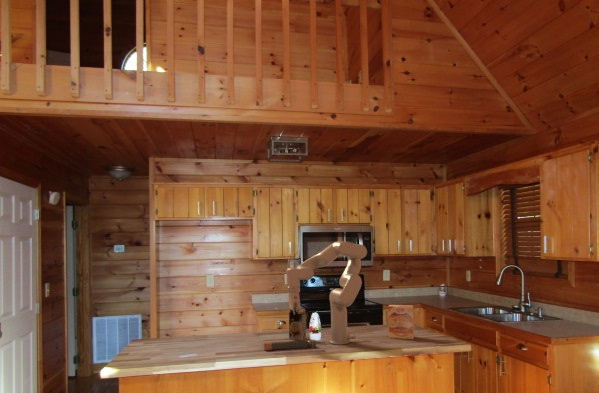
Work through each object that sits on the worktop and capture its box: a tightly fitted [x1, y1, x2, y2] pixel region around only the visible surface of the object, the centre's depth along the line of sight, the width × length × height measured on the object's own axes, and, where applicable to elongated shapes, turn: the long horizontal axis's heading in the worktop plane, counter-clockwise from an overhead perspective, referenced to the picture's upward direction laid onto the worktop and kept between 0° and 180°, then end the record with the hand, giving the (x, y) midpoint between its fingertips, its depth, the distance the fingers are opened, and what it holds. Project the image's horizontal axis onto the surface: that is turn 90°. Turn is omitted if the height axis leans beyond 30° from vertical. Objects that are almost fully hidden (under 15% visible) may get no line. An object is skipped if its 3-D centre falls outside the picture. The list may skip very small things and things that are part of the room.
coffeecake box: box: [387, 304, 415, 340], centre depth 280 cm, size 15×7×20 cm, turn 73°
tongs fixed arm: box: [265, 339, 317, 349], centre depth 256 cm, size 30×4×4 cm, turn 103°
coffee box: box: [288, 311, 307, 341], centre depth 279 cm, size 9×6×16 cm
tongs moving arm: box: [263, 339, 313, 351], centre depth 254 cm, size 27×2×4 cm, turn 102°
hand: (294, 319), depth 258 cm, fingers open, 9 cm apart
